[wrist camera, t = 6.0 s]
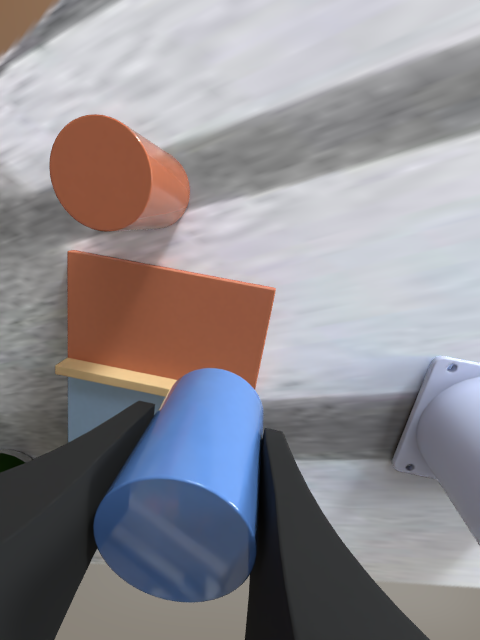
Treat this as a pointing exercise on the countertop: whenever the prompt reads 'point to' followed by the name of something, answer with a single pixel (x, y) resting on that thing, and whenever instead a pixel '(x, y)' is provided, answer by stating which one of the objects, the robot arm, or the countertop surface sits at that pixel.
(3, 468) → the green drink can
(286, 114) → the countertop surface
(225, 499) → the cylinder
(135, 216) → the orange cylinder
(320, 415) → the countertop surface
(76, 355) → the board
